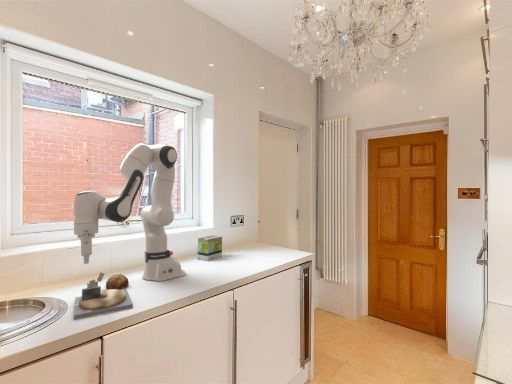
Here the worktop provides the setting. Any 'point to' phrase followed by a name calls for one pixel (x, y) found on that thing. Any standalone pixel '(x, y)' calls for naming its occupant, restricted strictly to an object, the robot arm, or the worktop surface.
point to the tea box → (209, 248)
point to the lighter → (95, 283)
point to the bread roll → (117, 282)
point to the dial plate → (84, 312)
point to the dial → (100, 297)
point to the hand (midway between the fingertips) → (86, 262)
